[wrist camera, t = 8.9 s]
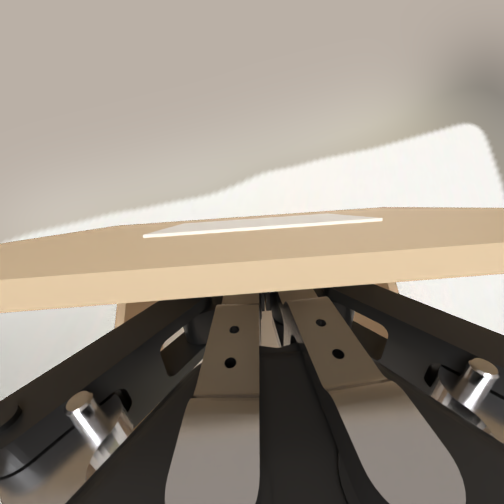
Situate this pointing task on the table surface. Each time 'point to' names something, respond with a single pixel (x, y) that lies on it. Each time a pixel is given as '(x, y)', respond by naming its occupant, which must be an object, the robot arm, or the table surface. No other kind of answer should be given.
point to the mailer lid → (249, 256)
